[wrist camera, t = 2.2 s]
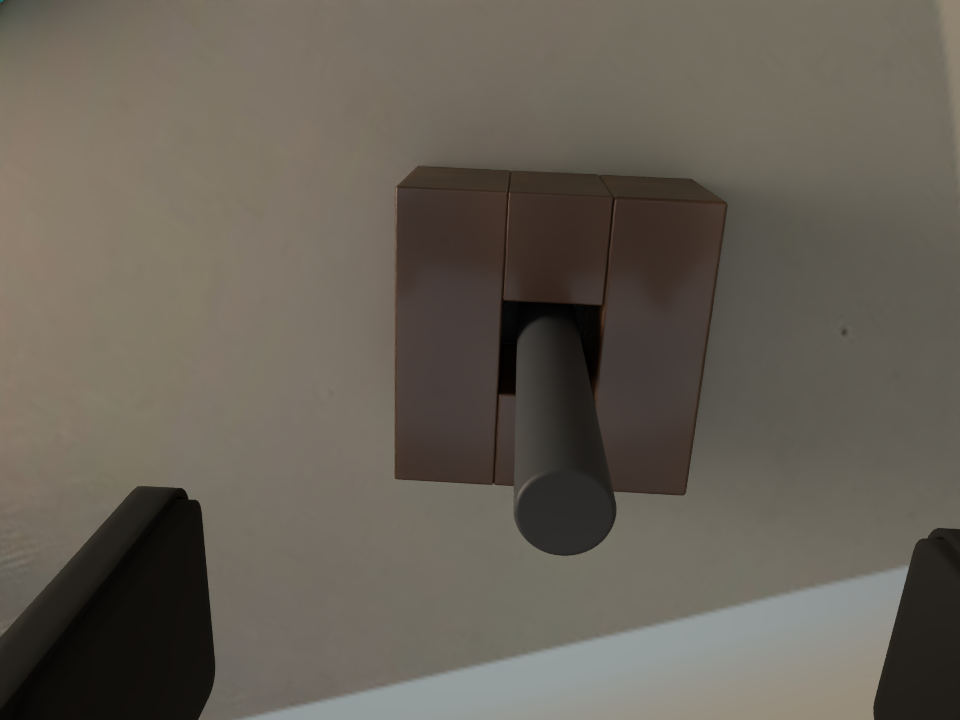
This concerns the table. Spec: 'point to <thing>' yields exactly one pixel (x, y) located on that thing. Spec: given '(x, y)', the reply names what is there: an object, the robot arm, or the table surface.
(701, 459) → the table surface
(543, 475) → the dark grey rod
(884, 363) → the table surface
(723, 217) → the pen stand
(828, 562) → the table surface
